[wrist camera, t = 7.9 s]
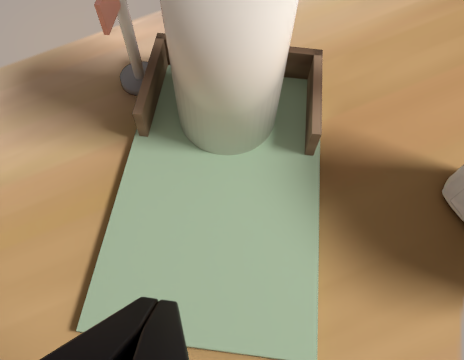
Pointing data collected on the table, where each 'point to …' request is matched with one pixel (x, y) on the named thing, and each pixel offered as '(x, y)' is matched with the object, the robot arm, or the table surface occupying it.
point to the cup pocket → (297, 66)
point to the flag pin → (108, 8)
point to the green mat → (218, 235)
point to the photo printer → (455, 192)
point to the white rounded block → (228, 68)
